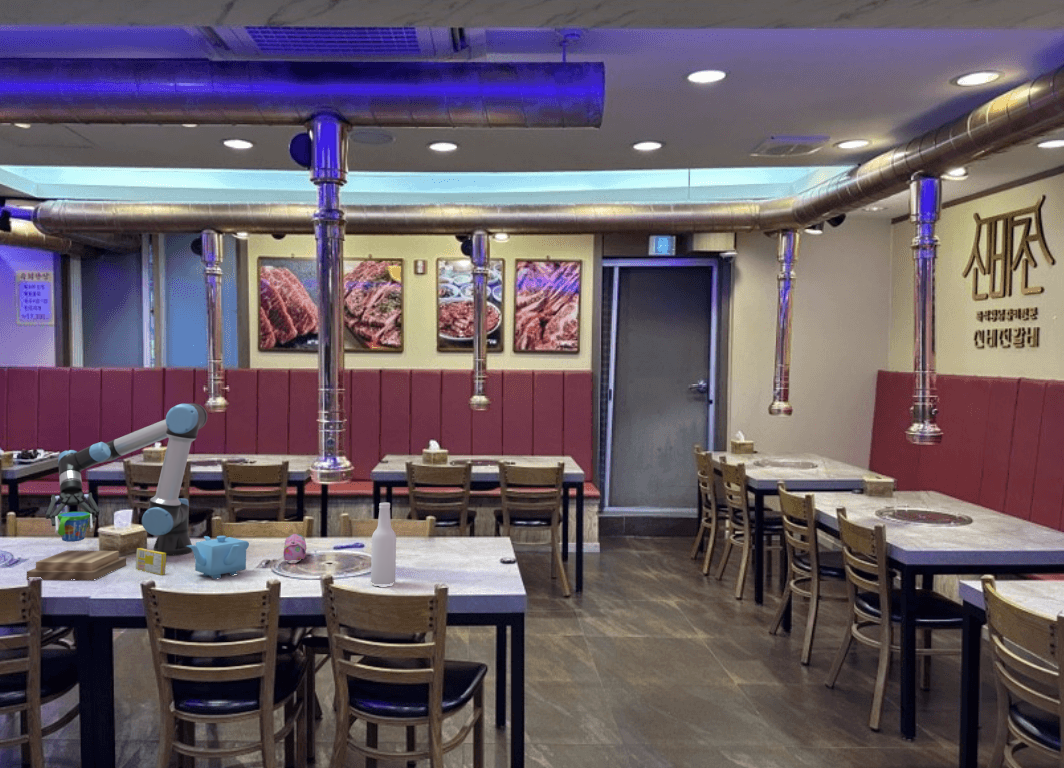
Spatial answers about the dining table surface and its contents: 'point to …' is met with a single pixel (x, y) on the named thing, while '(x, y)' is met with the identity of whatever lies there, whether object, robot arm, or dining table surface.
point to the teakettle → (220, 556)
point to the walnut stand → (77, 565)
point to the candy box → (151, 561)
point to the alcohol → (383, 549)
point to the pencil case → (294, 547)
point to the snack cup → (73, 525)
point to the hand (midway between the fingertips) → (74, 530)
